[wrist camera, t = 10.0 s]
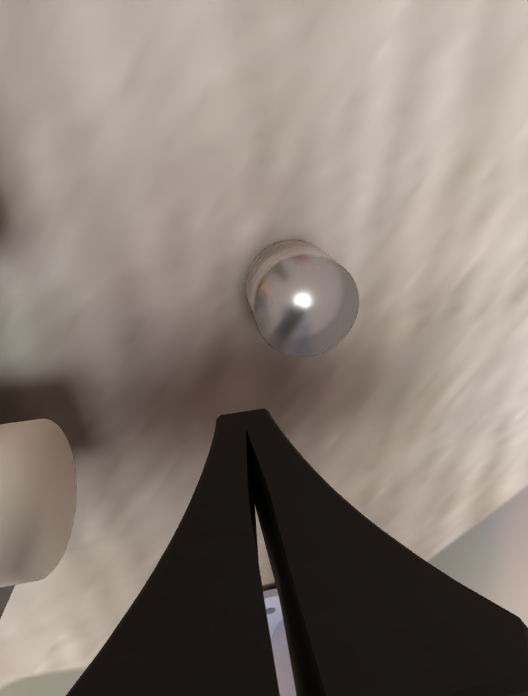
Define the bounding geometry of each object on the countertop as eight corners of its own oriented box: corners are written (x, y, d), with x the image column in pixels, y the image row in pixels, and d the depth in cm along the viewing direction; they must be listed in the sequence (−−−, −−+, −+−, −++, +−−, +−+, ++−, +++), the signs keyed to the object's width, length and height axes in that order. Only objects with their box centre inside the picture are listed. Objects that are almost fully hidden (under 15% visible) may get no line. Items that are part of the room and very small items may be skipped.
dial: (330, 318, 12) (356, 349, 10) (249, 329, 11) (260, 363, 9) (331, 234, 10) (361, 250, 9) (241, 244, 10) (251, 263, 8)
